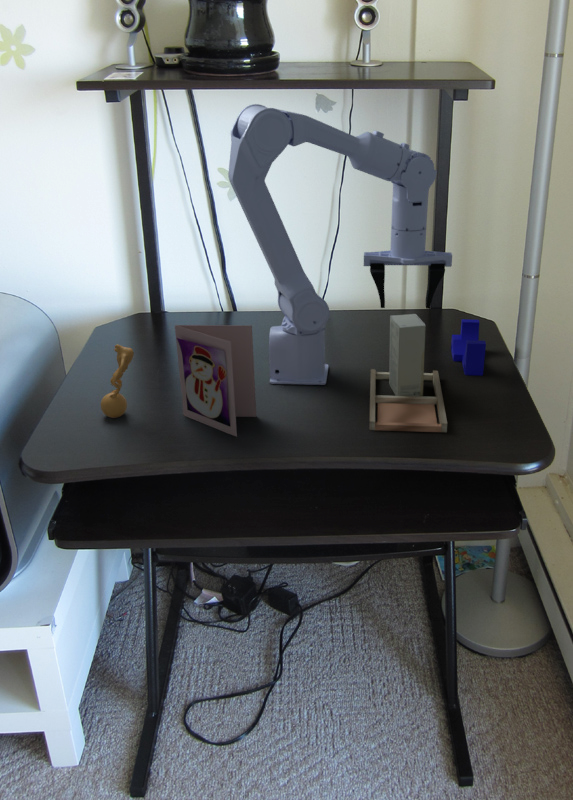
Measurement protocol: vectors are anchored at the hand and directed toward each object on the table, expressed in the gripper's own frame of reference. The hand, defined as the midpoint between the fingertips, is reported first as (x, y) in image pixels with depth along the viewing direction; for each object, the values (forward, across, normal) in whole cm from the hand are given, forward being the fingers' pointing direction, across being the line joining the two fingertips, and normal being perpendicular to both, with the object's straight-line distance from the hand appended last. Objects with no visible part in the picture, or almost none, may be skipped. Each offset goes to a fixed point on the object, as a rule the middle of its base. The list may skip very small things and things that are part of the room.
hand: (405, 306), depth 126 cm
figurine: (+11, -44, -24) cm, 51 cm away
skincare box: (+11, 0, -12) cm, 16 cm away
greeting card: (+11, -28, -24) cm, 38 cm away
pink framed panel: (+10, 0, -16) cm, 20 cm away
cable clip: (+11, +11, +1) cm, 16 cm away
